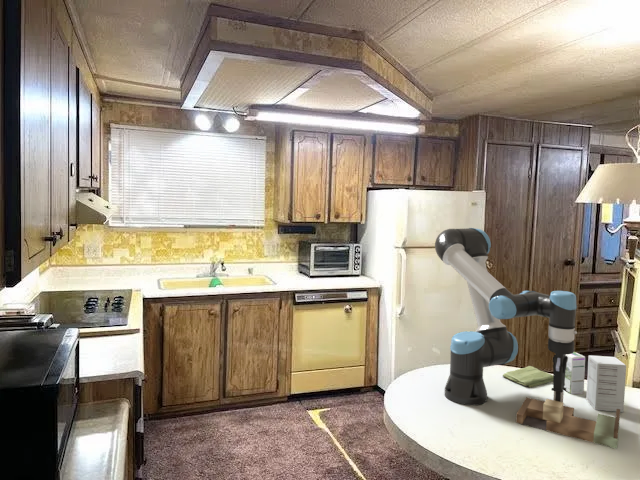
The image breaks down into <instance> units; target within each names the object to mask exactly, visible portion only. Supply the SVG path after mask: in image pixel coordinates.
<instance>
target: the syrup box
mask: <svg viewBox="0 0 640 480" xmlns="http://www.w3.org/2000/svg"><path fill="white" fill-rule="evenodd" d="M566 356H567V357H568V361H567V367H566V371H565V386H564V388H566V390H564V392H566V393H568V394H570V395H579V394H585V371H586V368H585V367H586V356H585V355H583V354H580V353H578V352H576V351H574V352H573V353H572V354H566Z"/></svg>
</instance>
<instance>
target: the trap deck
mask: <svg viewBox="0 0 640 480" xmlns="http://www.w3.org/2000/svg"><path fill="white" fill-rule="evenodd" d="M545 401H546V400H545ZM545 401H544V400H541V399H537V398H536V399H535V398H531V397H527V396H526V397H525V399H524V401H523V402H522V404H521V405H520V407H519V409H518V411H517V412H516V414H515V423H516V424H519V425H523V426H527V427H532V428H535V429H539V430H543V431H545V432H550V433H554V434H559V435H562V436H566V437H569V438H570V437H571V438H574V439H577V440H578V439H579V440H582V441H585V442H590V443H594V444H597V445H601V446H604V447H609V448H612V449H616V450H617V449H618V440H619V433H620V432H619V431H620V419H621V412H620V409H616V412H615V417H614V416H611V415H606V414H601V413H597V417H596V421H595V420H594V419H593V420H592V419H588V418H583V417H580V416H579V417H578V416H574V415H575V408H574V407H571V406H566V405H563V418H562V420H561V422H560V423H557V422H553V421H549V420H545V419H543V404H544V402H545Z"/></svg>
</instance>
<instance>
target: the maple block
mask: <svg viewBox="0 0 640 480" xmlns="http://www.w3.org/2000/svg"><path fill="white" fill-rule="evenodd" d="M563 406H565V405H564V401H563V402H559V401H555V400H553V399H549V398H546V399H545V402H544V404H543V419H545V420H549V421H553V422H557V423H560V422H561V420H562V418H563Z"/></svg>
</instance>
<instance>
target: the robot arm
mask: <svg viewBox="0 0 640 480" xmlns="http://www.w3.org/2000/svg"><path fill="white" fill-rule="evenodd" d="M491 245H492V243H491V239H490V236H489V235H488V234H487V233H486V231H484V230H482V229H480V228H474V227H468V228H447V229H445V230H443V231H441V232H440V233H439V234H438V235H437V237H436V239H435V243H434V248H435V252H436V255H437V256H438V258H439V259H440V260H441V261H442V262H443V263H444V264H445V265H446V266H451V267H452V268H453V269H454V270H455V271H456V272H457V273H458V274H459V275H460V276H461V277H462V278H463V279H464V280H465V281H466V284H467V288H468V292H469V296H470V300H471V304H472V308H473V312H474V316H475V321H476V324H477V327H476V329H475V331H471V330H470V331H461V332H458V333H455V334H454V335H453V336H452V337H451V341H450V347H449V350H450V362H449V363H450V364H449V365H450V366H449V376H448V379H447V382H446V384H445V386H444V396H445V397H446V399H448V400H450V401H452V402H454V403H457V404H461V405H469V406H477V405H482V404H484V403H486V402H487V400H488V392H487V391H488V390H487V388H486V384H485V381H484V368H486V367H488V368H489V367H493V366H498V365H505V364H508V363H511V362H513V361H514V360H515V358H516V356H517V355H518V352H519V345H518V344H519V343H518V340H517V338H516V336H515V335H514V334H513V333H512V332H510V331H508V328H507V326H506V325H505V324H503V323H502V322H501V320H509V319H515V318H522V317H523V318H524V317H530V316H539V317H543V318H547V319H548V335H547V336H548V340H547V341H548V342H547V349H548V351H550V352H551V353H554V355H553V356H552V363H553V364H552V368H553V369H552V372H553V374H552V375H553V381H552V382H553V384H552V386H553V387H551V389H550V390H551V391H553V399H552V400H555V401H559V402H563V403H564V393H565V390H566V388H564V386H565V371H566V367H567V361H568V357H567V356H566V354H572V353H573V352H575V341H574V340H575V335H577V334H578V332H577V330H576V318H577V317H576V316H577V315H576V314H577V308H578V305H577V296H576V294H575V293H573V292H571V291H565V290H553V291H551V292H550V294H546V293H542V292H537V291H535V290H523V291H521V292H520V293H517V294H513V293H512V292H511V291H509V290H508V289H507V288H506V286H504V285H503V284H502V283H500V281H498V280H497V279H496V277H494V276H493V275H492V274H491V273H490V272H489V271H488V269H487V265H486V261H487V260H488V258H489V256H488V255H489V253H490V251H491V247H492V246H491Z"/></svg>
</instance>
